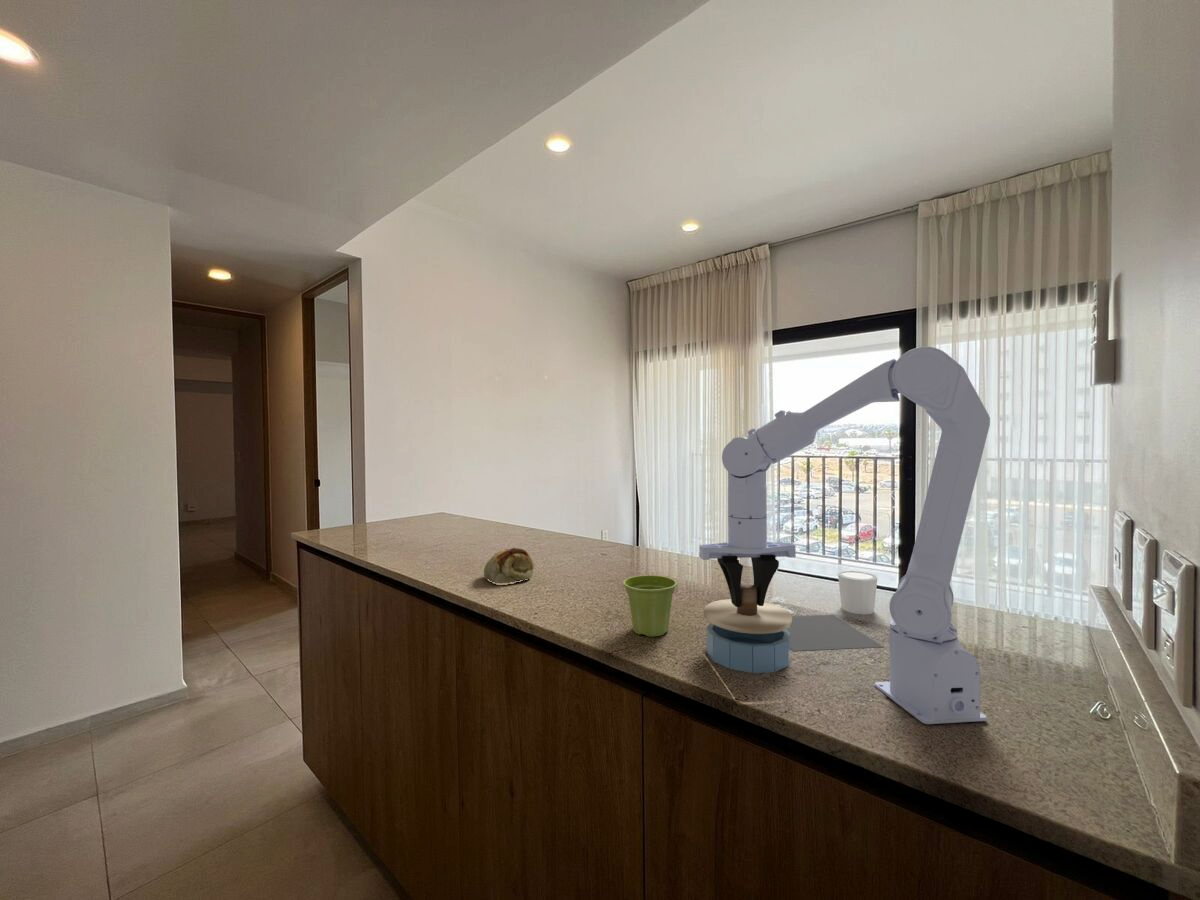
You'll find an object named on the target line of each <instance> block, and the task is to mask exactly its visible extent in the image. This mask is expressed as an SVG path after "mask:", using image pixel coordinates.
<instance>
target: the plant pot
mask: <svg viewBox="0 0 1200 900" xmlns="http://www.w3.org/2000/svg"><path fill="white" fill-rule="evenodd" d="M622 583H623V586H624V587H625V591H626V593H627V596H628V601H629V609H630V615H631V616H630V617H631V623H632V629H633V630H632V631H633V632H634V633H636V634H637V635H638V636H639V635H645V636H646V637H652V638H653V637H658V636H659V637H660V636H663V635H665V634H666V633H668V632H669V629H670V628H669V627H670V616H671V610H672V609H671V608H672V601H673V595H674V593H675V589H676V587H677V585H678V582H677V580H675V578H674V579H673V578H672V577H668V576H664V575H656V574H654V575H653V574H652V575H651V574H648V575H647V574H645V575H644V574H643V575H635V576H630V577H627V578H625V579H624V580H623V582H622Z"/></svg>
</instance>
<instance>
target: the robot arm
mask: <svg viewBox="0 0 1200 900" xmlns="http://www.w3.org/2000/svg"><path fill="white" fill-rule="evenodd" d="M899 394H901V395H902V396H903V397H905V398H906V399H908V400H910V401H911V402H913V403H914V404H915V405H917V406H919V407H921V408H923V409H924V410H925V412H926V413H927V415H928V416H929V418H931V419H932V420H933V421H934V423H935V424H936V425H937V426H938V428H940V430H941V433H940V434H941V435H940V438H939V442H938V445H937V451H936V454H935V459H934V463H933V466H932V471H931V474H930V479H929V484H928V488H927V492H926V494H925V499H924V504H923V508H922V512H921V515H920V521H919V524H918V528H917V533H916V537H915V540H914V545H913V549H912V553H911V557H910V560H909V563H908V567H907V571H906V572H905V573H906V574H905V575H903V576H902V577H901V579H900V580H899V582H898V584H897V588H896V591H895V592H894V593H893V594H892V596H891V598H890V599H889V604H888V605H889V607H888V608H889V613H890V617H891V619H890V620H889V681H876V682H874V687H875V688H876V689H878V690H879V691H880V692H881V693H883V694H884V695H885V696H887V697H888V698H889V699H891V700H892V701H894V702H895V703H896V704H897V705H898V706H900V707H901V708H902V709H904V710H905V711H907V712H908V713H909V714H911V715H912V716H913V717H914V718H915V719H917V720H918V721H919V722H921V723H922V724H925V725H936V724H937V725H938V724H939V725H940V724H956V723H957V724H958V723H969V722H970V723H971V722H973V723H974V722H985V721H987V720H988V719H987V718H988V717H987V715H985V714H984V713H982V712H981V669H980V665H979V662H978V660H977V659H976V658H975V656H974V655H973V654H972V653H971V652H969V651H967V650H966V649H965V647H963V645H962V644H961V643H960V640H959V638H958V630H957V628H956V627H955V626H953V624H952V615H953V614H952V607H953V604H954V601H955V600H954V598H955V597H954V592H953V590H952V586H951V581H952V577H953V576H952V575H953V572H954V567H955V563H956V559H957V555H958V551H959V546H960V543H961V540H962V536H963V532H964V527H965V524H966V520H967V516H968V512H969V508H970V504H971V502H972V501H971V500H972V496H973V492H974V490H975V489H974V488H975V484H976V480H977V477H978V472H979V469H980V464H981V462H982V458H983V453H984V449H985V445H986V441H987V437H988V434H989V429H990V426H991V418H990V414H989V413H988V411H987V408H986V407H985V406H984V405H985V404H983V402H982V400H981V397H979V394H978V392H977V390H976V389H975V386H974V385H973V384H972V381H971V380H970V378H969V376H968V374H967V371H966V370H965V368H964V366H962V365H961V364H960V363H959V362H958V361H956V360H955V359H954V358H953V357H951V356H950V354H948V353H946V352H945V351H944V350H942V349H940V348H937V347H932V346H919V347H915V348H912V349H910V350H908V351H906V352H904V353H903V354H901V356H900V357H899V358H898V359H897V360H896V359H895V358H892V359H890V360H887V361H884V362H883V363H881V364H879V365H877V366H876V367H874V368H872V369H870V370H869V371H868V372H865V373H864V374H862V375H861V376H859V377H858V378H856V379H854V380H852V381H851V382H849V383H848V384H846V385H845V386H843V387H841V388H840V389H838V390H837V391H836V392H834V393H832V394H831V395H829V396H827V397H826V398H824V399H822V400H821V401H819V402H818V403H817V404H814V405H813V406H811V407H810V408H809V409H806V410H805V411H801V410H797V409H789V410H788V411H786V410H782V409H781V410H779V411H777V412H776V413H775V414H774V417H775V418H774V419H772V420H771V421H768V422H767V423H766V424H764V425H761V427H759V428H757V429H756V428H751V429H749V430H748V431H747V435H748V436H747V437H744V436H736V437H734V438H732V439H731V441H729V442H728V443H727V444H725V447H723V450H722V453H721V462H722V465H723V467H724V469H725V470H726V471H727V537H728V538H727V541H726V542H719V543H718V542H717V543H708V544H699V549H698V550H699V552H698V553H699V554H698V555H699V558H700V559H701V560H703V561H709V560H710V559H711V560H712V559H716V560H717V563H718V564H719V567H720V569H721V571H722V573H723V576H724V578H725V581H726V584H727V587H728V591H729V595H730V599H731V602H732V604H733V605H734V606H736V607H740V606H741V584H742V575H743V569H744V565H743V564H741V563H740V560H739V559H742V558H743V559H745V558H750V559H751V567H752V573H753V574H752V575H753V585H755V586H757V605H759V606H763V605H764V602H765V600H766V596H767V592H768V589H769V586H770V584H771V581H772V579H773V577H774V575H775V574H776V572H777V570H778V569H779V566H780V562H779V560H778V559H777V557H778V558H782V557H783V558H784V557H786V558H796V555H797V554H796V550H797V549H796V548H797V547H796V544H794V543H792V542H780V541H779V542H777V541H773V542H772V541H771V542H770V541H768V539H767V538H768V537H767V535H768V531H767V527H768V526H767V525H768V523H767V522H768V521H767V510H768V509H767V494H768V493H767V488H768V487H767V471H768V470H769V468H770V467H771V465H772V464H777V463H778V462H781V461H783V460H785V459H786V458H788V457H790V456H792V455H793V454H795V453H797V452H799V451H801V450H803V449H805V448H807V447H808V446H811V445H813V443H814V441H815V438H816V435H817V432H818V431H820V430H821V429H823V428H825V427H827V426H828V425H831V424H832V423H834V422H836V421H839V420H841V419H843V418H845V417H847V416H849V415H851V414H852V413H855V412H857V411H859V410H860V409H862V408H864V407H867V406H869V405H870V404H873V403H891V402H892V403H894V402H900V396H899ZM738 558H739V559H738Z"/></svg>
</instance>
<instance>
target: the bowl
mask: <svg viewBox="0 0 1200 900" xmlns="http://www.w3.org/2000/svg"><path fill="white" fill-rule="evenodd" d="M706 653H707V655H708V656H709V658H710V659H711V661H713V662H714V663H716V664H718V665H720V666H722V667H725V668H727V669H730V670H735V671H740V672H745V673H751V674H761V673H762V674H763V673H765V674H766V673H776V672H778V671H780V670H782V669H785V668H788V667H789V666H790V661H791V649H790V632H789V631H787V630H784V631H781V632H776V633H769V634H750V633H741V632H735V631H731V630H727V629H723V628H720V627H718V626H715V625H713V624H712V623H710V622H709V624H708V625H707V627H706Z"/></svg>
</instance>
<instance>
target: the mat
mask: <svg viewBox="0 0 1200 900" xmlns="http://www.w3.org/2000/svg"><path fill="white" fill-rule="evenodd" d="M786 630H787V631H789V632H790V651H792V652H807V651H808V652H809V651H810V652H811V651H831V650H832V651H833V650H851V649H852V650H853V649H854V650H855V649H856V650H857V649H877V648H885V646H883V645H882V644H880V643H879V642H877V641H875V640H874V639H873V638H871V637H870V636H868V635H866V634H865V633H863V632H861V631H859V630H858V629H856V628H855V627H853V626H852V625H850V624H849V623H847V622H845V621H843V620H842V619H840V618H839V617H837V616H835V615H834V614H821V615H820V614H817V615H816V614H815V615H794V616H793V615H792V625H791V627H790V628H788V629H786Z"/></svg>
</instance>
